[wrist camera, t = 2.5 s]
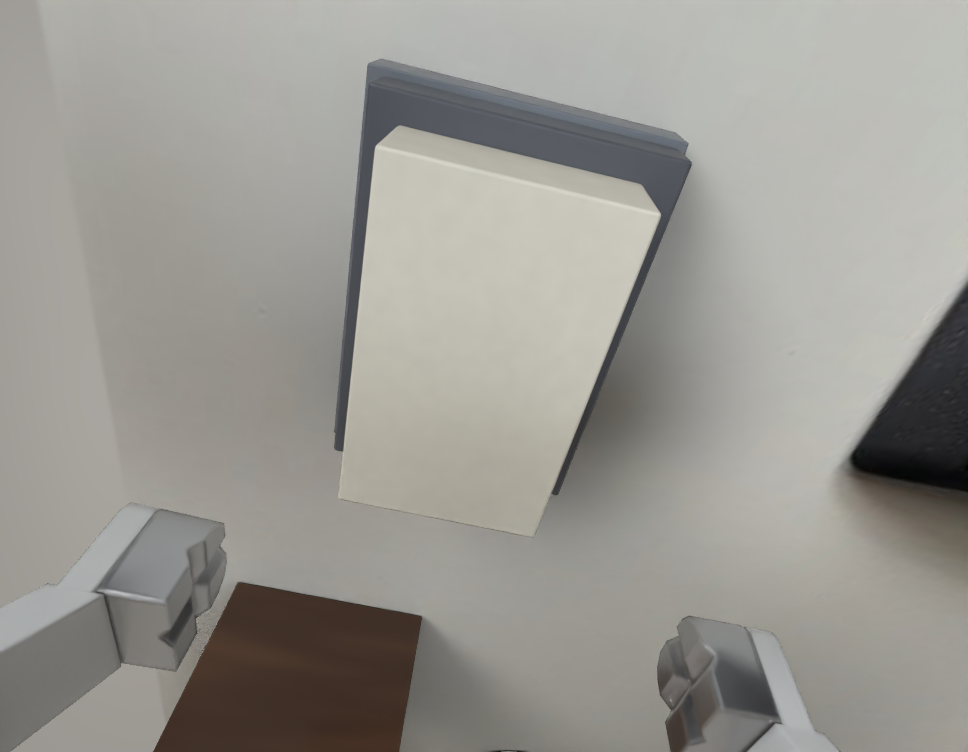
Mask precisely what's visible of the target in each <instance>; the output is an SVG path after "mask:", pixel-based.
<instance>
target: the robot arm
mask: <svg viewBox="0 0 968 752" xmlns="http://www.w3.org/2000/svg"><path fill="white" fill-rule="evenodd" d="M224 538H225V528H224V523H222V522H217V521H213V520H208V519H204V518H199V517H195V516H191V515H186V514H182V513H177V512H173V511H168V510H164V509H160V508H155V507H150V506H146V505H141V504H136V503H129V504H128V505H126V506H125V507H123V508H122V509H120V510H119V512H118V513H117V514H116V515H115V517H114V518H113V519H112V520H111V521H110V522H109V523H108V525H107V526H106V527H105V528H104V529H103V531H102V532H101V533H100V534H99V535H98V537H97V538H96V539H95V540H94V541H93V543H92V544H91V545H90V546H89V547H88V549H87V550H86V551H85V552H84V553H83V555H82V556H81V557H80V558H79V559H78V561H77V562H76V563H75V564H74V566H73V567H72V568H71V569H70V570H69V571H68V573H67V574H66V575H65V576H64V577H63V579H62V580H61V581H60V582H59V583H58V585H54V584H45V585H43V586H42V587H39V588H38V589H36V590H34V591H32V592H30V593H28V594H26V595H24V596H22V597H20V598H18V599H16V600H14V601H12V602H10V603H8V604H7V605H5V606H3V607H1V608H0V752H10V751H12V750H13V749H14V748H15V747H17V746H18V745H20V744H21V743H22V742H23V741H25V740H26V739H27V738H29V737H30V736H31V735H32V734H34V733H35V732H37V731H38V730H39V729H40V728H41V727H43V726H44V725H46V724H47V723H48V722H50V721H51V720H52V719H53V718H55V717H56V716H57V715H59V714H60V713H61V712H63V711H64V710H65V709H66V708H68V707H69V706H70V705H72V704H73V703H74V702H76V701H77V700H78V699H79V698H81V697H82V696H83V695H85V694H86V693H87V692H89V691H90V690H91V689H93V688H94V687H95V686H97V685H98V684H99V683H100V682H102V681H103V680H104V679H106V678H107V677H108V676H109V675H111V674H112V673H114V672H115V671H116V670H117V669H118V668H120V667H121V663H125V664H130V665H137V666H143V667H150V668H156V669H162V670H169V671H175V672H176V671H177V669H178V667H179V665H180V663H181V662H182V660H183V658H184V656H185V654H186V652H187V651H188V649H189V647H190V645H191V643H192V641H193V640H194V638H195V636H196V634H197V626H196V617H198V616H199V615H201V614H202V613H204V612H206V611H207V610H209V609H210V608H211V606H212V604H213V602H214V600H215V599H216V597H217V595H218V593H219V590H220V587H221V584H222V581H223V579H224V576H225V570H226V564H227V558H226V552H225V551H224V550H223V549H222V548H221V547H220V545H221V543H222V541H223V539H224ZM677 630H678V634H679V636H677V637H675V638H673V639H670V640H668V641H667V642H666V643H665V645H664V647H663V648H662V650H661V651H660V655H659V660H658V666H657V680H658V686H659V692H660V696H661V697H662V699H663V700H664V701H665V703H666V704H667V705H668V707H669V708H670V709H671V711H670V713H669V715H668V717H667V719H666V721H665V724H666V729H667V735H668V740H669V745H670V750H671V752H840V751H839V750H838V748H837V747H836V746H835V745H834V744H833V743H832V742H831V741H830V740H829V738H828V737H827V736H826V735H825V734H824V733H822V732H818V731H815V730H814V727H813V725H812V722H811V720H810V717H809V715H808V712H807V710H806V707H805V705H804V702H803V700H802V697H801V695H800V692H799V690H798V687H797V685H796V682H795V680H794V677H793V675H792V672H791V670H790V667H789V665H788V662H787V660H786V657H785V655H784V652H783V650H782V647H781V645H780V642H779V640H778V639H777V637H776V636H775V635H774V634H773V633H772V632H768V631H764V630H758V629H753V628H748V627H742V626H741V625H737V624H731V623H726V622H720V621H715V620H710V619H704V618H699V617H693V616H687V617H685V618H683V619H682V620H681V622H680V623H679V624H678V626H677Z"/></svg>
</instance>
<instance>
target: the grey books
mask: <svg viewBox="0 0 968 752" xmlns="http://www.w3.org/2000/svg"><path fill="white" fill-rule="evenodd" d="M400 125H401V126H405V127H409V128H413V129H417V130H421V131H425V132H429V133H434V134H438V135H442V136H446V137H450V138H454V139H458V140H462V141H466V142H470V143H475V144H479V145H483V146H487V147H491V148H495V149H499V150H503V151H507V152H511V153H516V154H520V155H524V156H528V157H532V158H536V159H540V160H544V161H548V162H552V163H556V164H561V165H565V166H569V167H573V168H577V169H581V170H585V171H589V172H593V173H597V174H602V175H606V176H610V177H614V178H618V179H622V180H626V181H630V182H634V183H638V184H641V185H642V186H643V187H644V189H645V190H646V192H647V193H648V195H649V196H650V198H651V199H652V201H653V202H654V204H655V206H656V207H657V209H658V210H659V212H660V213H661V218H660V221H659V223H658V226H657V228H656V231H655V233H654V236H653V238H652V241H651V243H650V246H649V248H648V251H647V254H646V256H645V259H644V261H643V264H642V266H641V269H640V271H639V274H638V276H637V279H636V281H635V284H634V286H633V289H632V291H631V294H630V296H629V299H628V302H627V304H626V307H625V309H624V312H623V314H622V317H621V319H620V322H619V324H618V327H617V329H616V332H615V334H614V337H613V339H612V342H611V344H610V347H609V350H608V352H607V355H606V357H605V360H604V362H603V365H602V367H601V370H600V372H599V375H598V377H597V380H596V382H595V385H594V387H593V390H592V392H591V395H590V398H589V400H588V403H587V405H586V408H585V410H584V413H583V415H582V418H581V420H580V423H579V425H578V428H577V430H576V433H575V435H574V438H573V440H572V443H571V445H570V448H569V451H568V453H567V456H566V458H565V461H564V463H563V466H562V468H561V471H560V473H559V476H558V478H557V481H556V483H555V486H554V488H553V491H552V493H551V494H553V495H558V493H559V491H560V489H561V486H562V484H563V481H564V479H565V476H566V474H567V471H568V469H569V466H570V464H571V461H572V459H573V456H574V454H575V452H576V449H577V447H578V444H579V442H580V439H581V437H582V434H583V432H584V429H585V427H586V424H587V422H588V419H589V417H590V415H591V412H592V410H593V407H594V405H595V402H596V400H597V397H598V395H599V392H600V390H601V387H602V385H603V382H604V380H605V378H606V375H607V373H608V370H609V368H610V365H611V363H612V360H613V358H614V355H615V353H616V350H617V348H618V345H619V343H620V341H621V338H622V336H623V333H624V331H625V328H626V326H627V323H628V321H629V318H630V316H631V313H632V311H633V308H634V306H635V304H636V301H637V299H638V296H639V294H640V291H641V289H642V286H643V284H644V281H645V279H646V276H647V274H648V271H649V269H650V267H651V264H652V262H653V259H654V257H655V254H656V252H657V249H658V247H659V244H660V242H661V239H662V237H663V234H664V232H665V230H666V227H667V225H668V222H669V220H670V217H671V215H672V212H673V210H674V207H675V205H676V202H677V200H678V197H679V195H680V193H681V190H682V188H683V185H684V183H685V180H686V178H687V175H688V173H689V170H690V168H691V165H692V162H691V161H690V160H689V159H688V158H687V157H685V156H684V155H685V152H686V150H687V147H688V143H687V142H686V141H685V140H684V139H682V138H681V137H680V136H679V135H678V134H676V133H675V132H671V131H667V130H663V129H659V128H655V127H651V126H647V125H643V124H639V123H635V122H631V121H627V120H623V119H619V118H615V117H611V116H607V115H603V114H599V113H595V112H591V111H587V110H583V109H579V108H575V107H571V106H567V105H563V104H559V103H555V102H551V101H547V100H543V99H539V98H535V97H531V96H528V95H524V94H520V93H516V92H512V91H508V90H504V89H500V88H496V87H492V86H488V85H484V84H480V83H476V82H472V81H468V80H464V79H460V78H456V77H452V76H448V75H444V74H440V73H436V72H432V71H428V70H424V69H420V68H416V67H412V66H408V65H404V64H400V63H396V62H392V61H388V60H384V59H379V60H376V61H374V62H371V63H368V67H367V78H366V89H365V100H364V111H363V122H362V133H361V143H360V154H359V165H358V176H357V187H356V198H355V209H354V220H353V231H352V242H351V253H350V264H349V275H348V286H347V297H346V308H345V319H344V330H343V341H342V352H341V363H340V374H339V385H338V396H337V407H336V418H335V429H334V432H335V433H336V434H335V445H334V448H335V450H338V451H343V448H344V438H345V429H346V419H347V410H348V400H349V391H350V381H351V372H352V362H353V353H354V343H355V333H356V324H357V314H358V305H359V295H360V286H361V276H362V267H363V257H364V248H365V238H366V229H367V219H368V210H369V200H370V190H371V181H372V171H373V162H374V152H375V147H376V145H377V144H378V143H379V142H381V141H382V140H383V139H384V138H385V137H386V136H387V135H388V134H389V133H390V132H392V131H393V130H394V129H395V128H396V127H397V126H400Z"/></svg>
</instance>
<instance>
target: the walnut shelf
mask: <svg viewBox="0 0 968 752" xmlns="http://www.w3.org/2000/svg"><path fill="white" fill-rule="evenodd" d="M421 620H422V617H421V616H416V615H410V614H405V613H400V612H394V611H389V610H384V609H378V608H373V607H368V606H362V605H357V604H352V603H346V602H341V601H335V600H330V599H325V598H319V597H314V596H309V595H303V594H298V593H293V592H287V591H282V590H277V589H271V588H266V587H261V586H255V585H250V584H245V583H238V584H237V586H236V588H235V590H234V592H233V594H232V596H231V598H230V600H229V602H228V604H227V605H226V607H225V609H224V611H223V613H222V615H221V617H220V619H219V621H218V623H217V625H216V627H215V629H214V631H213V633H212V635H211V637H210V639H209V641H208V643H207V645H206V647H205V649H204V651H203V653H202V655H201V657H200V659H199V661H198V663H197V665H196V667H195V669H194V671H193V673H192V675H191V677H190V679H189V681H188V683H187V685H186V687H185V689H184V691H183V693H182V695H181V697H180V699H179V701H178V703H177V705H176V707H175V709H174V711H173V713H172V715H171V717H170V719H169V721H168V723H167V725H166V727H165V729H164V731H163V733H162V735H161V737H160V739H159V741H158V743H157V745H156V747H155V749H154V751H153V752H399V748H400V743H401V737H402V731H403V725H404V719H405V713H406V707H407V702H408V696H409V690H410V684H411V678H412V672H413V666H414V661H415V655H416V649H417V643H418V637H419V631H420V625H421Z"/></svg>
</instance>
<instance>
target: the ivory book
mask: <svg viewBox="0 0 968 752" xmlns="http://www.w3.org/2000/svg"><path fill="white" fill-rule="evenodd" d="M660 218H661V213H660V212H659V210H658V209H657V207H656V206H655V204H654V202H653V201H652V199H651V198H650V196H649V195H648V193H647V192H646V190H645V189H644V187H643V186H642V185H641V184H638V183H634V182H630V181H626V180H622V179H618V178H614V177H610V176H606V175H602V174H597V173H593V172H589V171H585V170H581V169H577V168H573V167H569V166H565V165H561V164H556V163H552V162H548V161H544V160H540V159H536V158H532V157H528V156H524V155H520V154H516V153H511V152H507V151H503V150H499V149H495V148H491V147H487V146H483V145H479V144H475V143H470V142H466V141H462V140H458V139H454V138H450V137H446V136H442V135H438V134H434V133H429V132H425V131H421V130H417V129H413V128H409V127H405V126H401V125H400V126H397V127H396V128H395V129H394V130H393V131H392V132H390V133H389V134H388V135H387V136H386V137H385V138H384V139H383V140H382V141H381V142H379V143H378V144H377V145H376V147H375V152H374V162H373V171H372V181H371V190H370V200H369V210H368V219H367V229H366V238H365V248H364V257H363V267H362V276H361V286H360V295H359V305H358V314H357V324H356V333H355V343H354V353H353V362H352V372H351V381H350V391H349V400H348V410H347V419H346V429H345V438H344V448H343V457H342V467H341V477H340V486H339V499H341V500H346V501H351V502H356V503H361V504H366V505H371V506H376V507H381V508H386V509H391V510H396V511H402V512H407V513H412V514H417V515H422V516H427V517H432V518H437V519H442V520H447V521H452V522H457V523H462V524H467V525H472V526H477V527H482V528H487V529H492V530H497V531H502V532H507V533H512V534H517V535H522V536H527V537H534V536H535V534H536V531H537V529H538V526H539V524H540V521H541V519H542V516H543V514H544V511H545V509H546V506H547V504H548V501H549V499H550V496H551V493H552V491H553V488H554V486H555V483H556V481H557V478H558V476H559V473H560V471H561V468H562V466H563V463H564V461H565V458H566V456H567V453H568V451H569V448H570V445H571V443H572V440H573V438H574V435H575V433H576V430H577V428H578V425H579V423H580V420H581V418H582V415H583V413H584V410H585V408H586V405H587V403H588V400H589V398H590V395H591V392H592V390H593V387H594V385H595V382H596V380H597V377H598V375H599V372H600V370H601V367H602V365H603V362H604V360H605V357H606V355H607V352H608V350H609V347H610V344H611V342H612V339H613V337H614V334H615V332H616V329H617V327H618V324H619V322H620V319H621V317H622V314H623V312H624V309H625V307H626V304H627V302H628V299H629V296H630V294H631V291H632V289H633V286H634V284H635V281H636V279H637V276H638V274H639V271H640V269H641V266H642V264H643V261H644V259H645V256H646V254H647V251H648V248H649V246H650V243H651V241H652V238H653V236H654V233H655V231H656V228H657V226H658V223H659V221H660Z"/></svg>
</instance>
